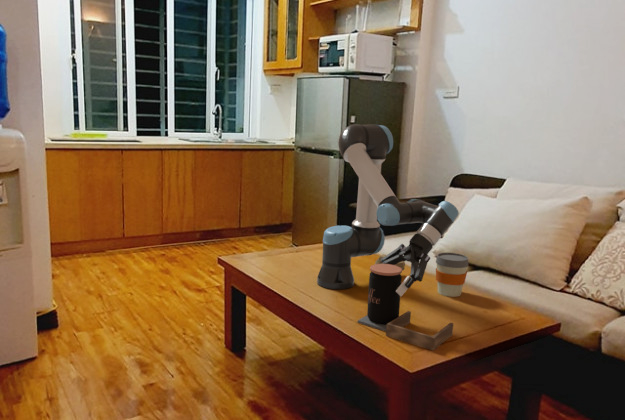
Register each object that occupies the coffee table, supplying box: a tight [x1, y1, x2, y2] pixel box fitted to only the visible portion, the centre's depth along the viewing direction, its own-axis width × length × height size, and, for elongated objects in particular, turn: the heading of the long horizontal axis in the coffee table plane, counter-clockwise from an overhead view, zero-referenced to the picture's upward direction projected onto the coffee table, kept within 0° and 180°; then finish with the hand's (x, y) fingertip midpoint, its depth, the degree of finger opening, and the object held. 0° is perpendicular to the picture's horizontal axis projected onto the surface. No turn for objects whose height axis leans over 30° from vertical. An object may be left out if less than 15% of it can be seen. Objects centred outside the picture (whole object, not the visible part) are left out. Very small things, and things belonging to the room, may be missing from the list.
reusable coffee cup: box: [435, 252, 469, 298], centre depth 211 cm, size 13×13×15 cm
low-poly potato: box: [374, 254, 406, 272], centre depth 229 cm, size 15×11×12 cm
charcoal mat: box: [356, 315, 387, 332], centre depth 180 cm, size 12×13×1 cm
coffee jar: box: [366, 263, 403, 325], centre depth 178 cm, size 11×11×18 cm
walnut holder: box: [385, 310, 454, 351], centre depth 170 cm, size 16×15×4 cm
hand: (385, 287), depth 177 cm, fingers open, 13 cm apart
